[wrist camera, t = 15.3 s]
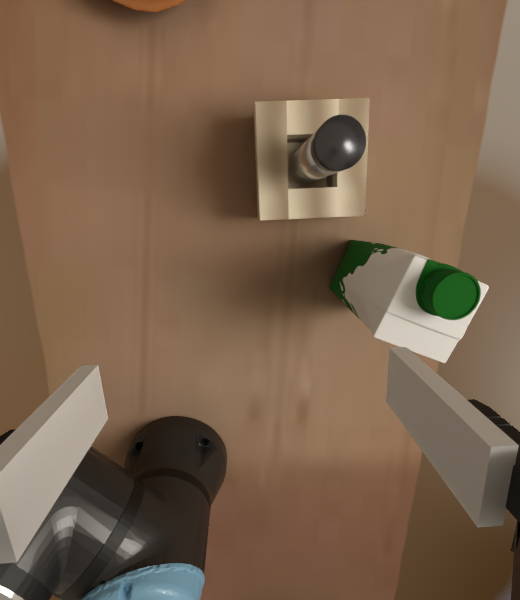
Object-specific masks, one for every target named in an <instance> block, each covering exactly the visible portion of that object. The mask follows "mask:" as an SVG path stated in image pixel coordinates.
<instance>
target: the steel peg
mask: <svg viewBox="0 0 520 600" xmlns="http://www.w3.org/2000/svg"><path fill="white" fill-rule="evenodd" d="M365 147H366V134H365V131H364V129H363V127H362V125H361V124H360V122H359V121H358V120H356V119H355V118H353V117H351V116H349V115H336V116H333V117H331V118H329V119H328V120H326V121H325V122H324V123H323V124H322V125H321V126H320V127H319V128H318V129H317V130H316V131H315V132H314V133H313V134H312V135H311V136H310V138H309V139H308V140H307V141H306V142H305V143H304V144H303V145H302V146H301V147H300V148H299V149H298V150H297V151H296V152H295V153H294V154H293V155H292V157H291V158H290V161H289V172H290V175H291V177H292V178H293V179H294V180H295V181H297V182H299V183H304V184H305V183H310V182H312V181H315V180H318V179H321V178H324V177H326V176H329V175H332V174H335V173H337V172H340V171H343V170H346V169H348V168H351V167H352V166H354V165H355V164H356V163H357V162H358V161H359V160H360V159H361V157H362V156H363V153H364V151H365Z"/></svg>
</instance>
